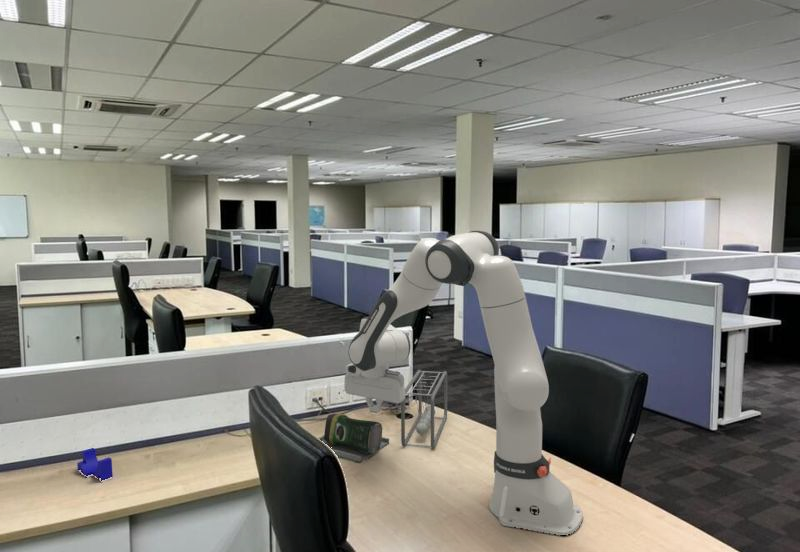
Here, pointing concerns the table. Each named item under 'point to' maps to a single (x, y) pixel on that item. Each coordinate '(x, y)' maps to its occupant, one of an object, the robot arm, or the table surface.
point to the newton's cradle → (429, 411)
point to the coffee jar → (353, 433)
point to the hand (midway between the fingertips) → (374, 411)
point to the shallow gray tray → (352, 450)
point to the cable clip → (95, 465)
